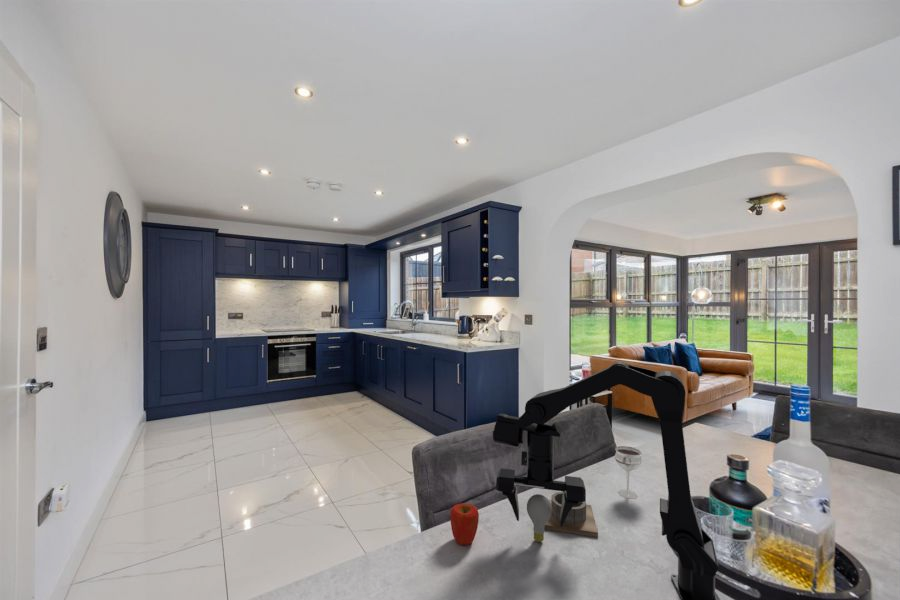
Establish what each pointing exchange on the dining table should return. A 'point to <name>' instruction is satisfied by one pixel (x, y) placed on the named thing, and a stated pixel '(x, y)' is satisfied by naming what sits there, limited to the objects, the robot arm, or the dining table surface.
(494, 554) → the dining table surface
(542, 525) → the light bulb
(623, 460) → the wineglass
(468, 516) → the apple
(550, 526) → the socket base
